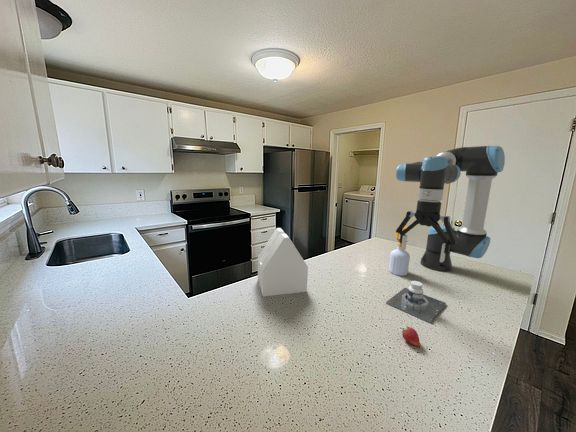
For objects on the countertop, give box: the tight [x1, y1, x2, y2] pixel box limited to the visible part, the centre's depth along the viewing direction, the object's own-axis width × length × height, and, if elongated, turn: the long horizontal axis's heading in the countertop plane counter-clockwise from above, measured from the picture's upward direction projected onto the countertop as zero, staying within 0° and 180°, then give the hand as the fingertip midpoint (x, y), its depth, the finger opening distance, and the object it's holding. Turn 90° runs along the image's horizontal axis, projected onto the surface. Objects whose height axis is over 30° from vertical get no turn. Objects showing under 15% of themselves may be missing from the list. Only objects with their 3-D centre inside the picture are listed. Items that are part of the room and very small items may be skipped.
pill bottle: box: [407, 280, 424, 304], centre depth 92 cm, size 5×5×9 cm
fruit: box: [401, 325, 422, 348], centre depth 73 cm, size 4×6×5 cm
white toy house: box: [257, 227, 309, 297], centre depth 104 cm, size 19×15×25 cm
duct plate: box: [385, 287, 447, 324], centre depth 94 cm, size 18×16×3 cm
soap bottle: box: [388, 226, 411, 277], centre depth 121 cm, size 9×9×25 cm
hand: (421, 255), depth 89 cm, fingers open, 13 cm apart
